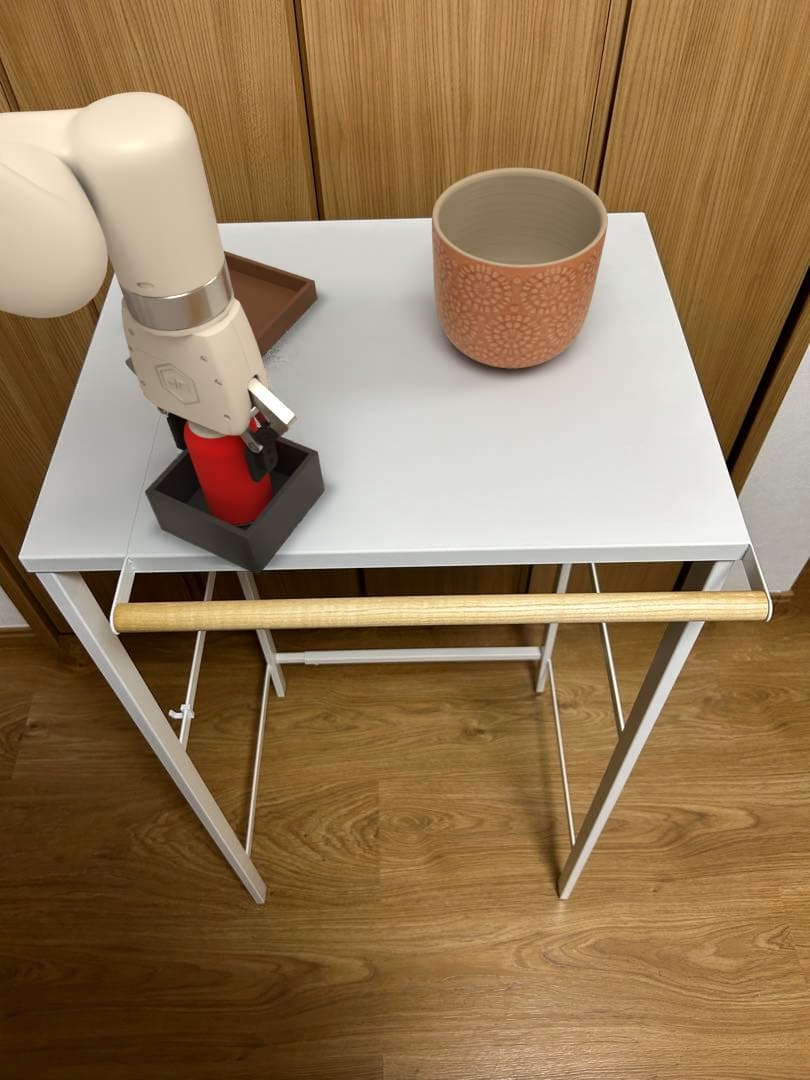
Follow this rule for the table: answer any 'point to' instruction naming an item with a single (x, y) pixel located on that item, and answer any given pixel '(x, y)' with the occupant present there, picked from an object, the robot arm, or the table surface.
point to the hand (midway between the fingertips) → (227, 454)
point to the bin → (250, 544)
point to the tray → (269, 297)
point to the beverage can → (226, 474)
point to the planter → (515, 263)
